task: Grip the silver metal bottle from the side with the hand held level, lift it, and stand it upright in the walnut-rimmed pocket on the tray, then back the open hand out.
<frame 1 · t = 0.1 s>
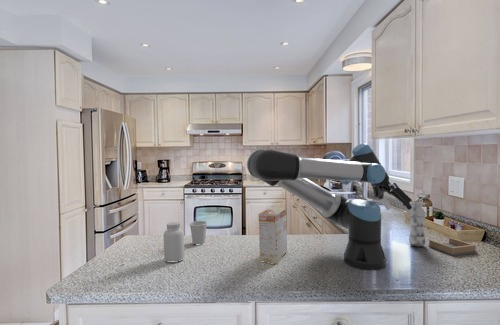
hand: (400, 211, 127), 15 cm above the countertop, tool tilted 35°, fingers open, 13 cm apart
coffeecake box: (274, 257, 115), on the countertop
dixie cup: (198, 243, 134), on the countertop
silver metal bottle: (417, 246, 125), on the countertop
pill bottle: (174, 260, 114), on the countertop
tray: (451, 249, 119), on the countertop
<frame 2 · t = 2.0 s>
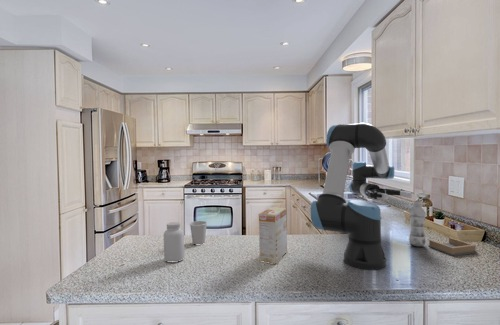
hand: (399, 196, 134), 21 cm above the countertop, tool horizontal, fingers open, 13 cm apart
nothing on the countertop moved.
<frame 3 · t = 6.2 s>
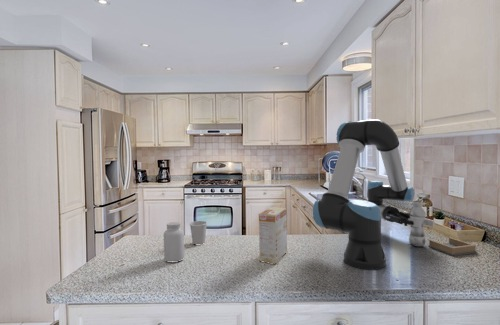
hand: (427, 224, 119), 11 cm above the countertop, tool horizontal, fingers closed on silver metal bottle, 6 cm apart
silver metal bottle: (417, 246, 125), on the countertop, touching gripper
everything else where it was.
when the fingers open (13 cm above the countertop, at t = 11.6 s): silver metal bottle drops 1 cm, resting on tray.
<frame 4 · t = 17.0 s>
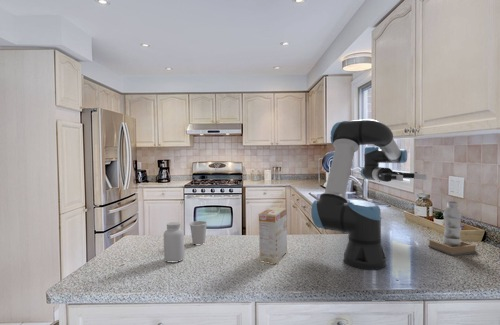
hand: (414, 177, 133), 30 cm above the countertop, tool horizontal, fingers open, 13 cm apart
silver metal bottle: (451, 248, 119), resting on tray
everything else where it was.
at the end: silver metal bottle 0.3 cm off-centre on the tray, point 0.3 cm above the tray's base; silver metal bottle tilted 0°; the gripper is holding nothing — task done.
